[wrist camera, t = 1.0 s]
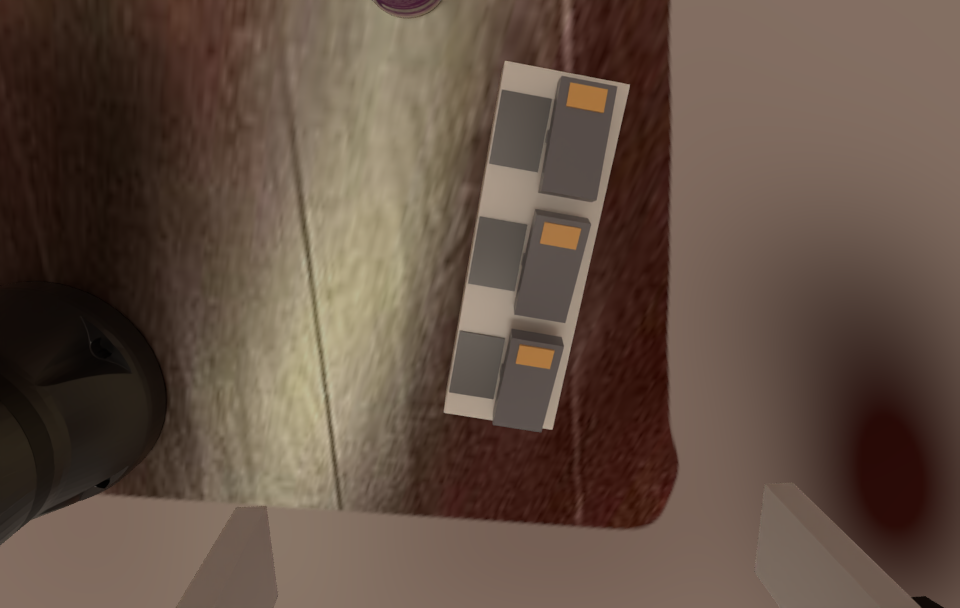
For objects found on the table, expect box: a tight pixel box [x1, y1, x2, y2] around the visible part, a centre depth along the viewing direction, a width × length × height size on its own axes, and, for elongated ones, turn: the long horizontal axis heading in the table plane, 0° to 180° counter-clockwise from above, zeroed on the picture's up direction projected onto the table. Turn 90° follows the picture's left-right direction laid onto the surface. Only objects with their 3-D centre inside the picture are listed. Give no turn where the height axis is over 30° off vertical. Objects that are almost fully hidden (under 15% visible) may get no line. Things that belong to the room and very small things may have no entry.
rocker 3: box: [493, 329, 564, 432], centre depth 34 cm, size 3×6×1 cm, turn 170°
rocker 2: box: [514, 209, 591, 323], centre depth 33 cm, size 3×6×1 cm, turn 170°
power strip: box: [444, 61, 630, 430], centre depth 36 cm, size 7×21×5 cm, turn 170°
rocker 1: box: [538, 76, 617, 202], centre depth 31 cm, size 3×6×1 cm, turn 170°
